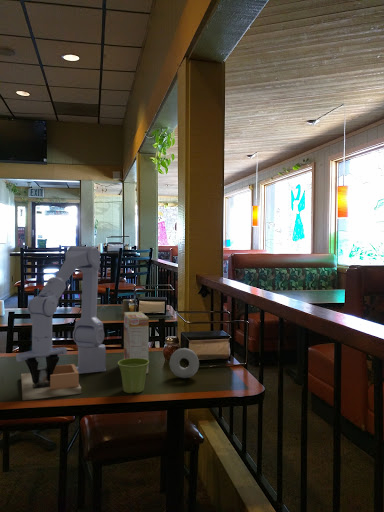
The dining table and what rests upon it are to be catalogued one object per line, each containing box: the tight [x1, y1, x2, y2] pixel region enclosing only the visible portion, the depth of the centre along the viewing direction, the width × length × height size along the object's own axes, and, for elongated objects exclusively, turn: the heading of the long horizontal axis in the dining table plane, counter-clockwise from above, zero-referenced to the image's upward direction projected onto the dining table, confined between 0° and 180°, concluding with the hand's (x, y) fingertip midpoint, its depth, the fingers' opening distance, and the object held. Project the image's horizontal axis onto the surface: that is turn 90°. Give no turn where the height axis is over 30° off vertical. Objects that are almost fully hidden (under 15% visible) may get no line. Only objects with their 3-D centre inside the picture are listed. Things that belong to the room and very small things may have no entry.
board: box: [20, 372, 82, 401], centre depth 129 cm, size 16×22×2 cm
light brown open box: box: [50, 363, 80, 390], centre depth 127 cm, size 8×11×4 cm
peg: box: [35, 366, 48, 389], centre depth 124 cm, size 4×4×6 cm
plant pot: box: [117, 358, 150, 394], centre depth 125 cm, size 9×9×9 cm
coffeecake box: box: [123, 311, 150, 375], centre depth 149 cm, size 15×7×20 cm, turn 16°
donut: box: [169, 347, 200, 379], centre depth 138 cm, size 10×4×10 cm, turn 85°
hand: (42, 381), depth 124 cm, fingers closed on peg, 4 cm apart
